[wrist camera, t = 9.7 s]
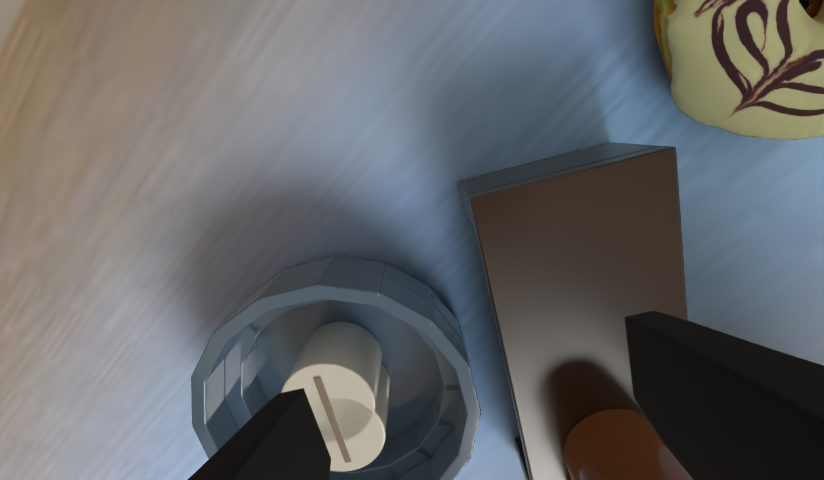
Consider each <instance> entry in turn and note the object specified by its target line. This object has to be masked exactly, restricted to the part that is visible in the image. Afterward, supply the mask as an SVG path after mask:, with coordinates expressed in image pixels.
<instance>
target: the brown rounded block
mask: <svg viewBox="0 0 824 480" xmlns="http://www.w3.org/2000/svg"><path fill="white" fill-rule="evenodd" d="M563 458H564V462H565V465H566V467H567V469H568V471H569V474H570V475H569V480H693V479H692V477H691V476H690V475H689V474H688V473H687V471H686V470H685V469H684V468H683V466H682V465H681V464H680V463H679V461H678V460H677V459H676V458H675V456H674V455H673V454H672V453H671V451H670V450H669V449H668V448H667V446H666V445H665V444H664V443H663V441H662V440H661V438H660V437H659V435H658V434H657V432H656V431H655V429H654V428H653V426H652V425H651V423H650V422H649V420H648V419H647V417H645V416H644V415H642V414H640V413H638V412H635V411H632V410H628V409H607V410H602V411H599V412H596V413H593V414H591V415H589V416H587V417H586V418H584V419H583V420H581V421H580V422H579V423H577V424H576V425H575V426H574V427H573V429H572V430H571V431H570V433H569V434H568V436H567V438H566V440H565V443H564V447H563Z"/></svg>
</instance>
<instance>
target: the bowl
mask: <svg viewBox="0 0 824 480" xmlns="http://www.w3.org/2000/svg"><path fill="white" fill-rule="evenodd" d="M332 322H350V323H354V324H357V325H359V326H361V327H363V328H365V329H366V330H367V331H369V332H370V333H371V334H372V335H373V336H374V337H375V339H376V340H377V342H378V344H379V346H380V348H381V352H382V364H383V365H384V367H385V368H386V370H387V372H388V374H389V377H390V395H389V406H388V417H387V427H386V438H385V443H384V446H383V449H382V450H381V452H380V454H379V455H378V456H377V457H376V459H374V460H373V461H372V462H371V463H369V464H368V465H366V466H364V467H362V468H360V469H357V470H353V471H345V472H339V471H331V470H330V475H329V480H454V479H455V477H456V476H457V475H458V473H459V472H460V471H461V470H462V468H463V467H464V466H465V465H466V463H467V462H468V461H469V460H470V458H471V455H472V450H473V446H474V442H475V437H476V433H477V429H478V424H479V420H480V415H481V410H480V405H479V401H478V397H477V393H476V388H475V384H474V380H473V376H472V371H471V367H470V363H469V359H468V355H467V351H466V347H465V343H464V339H463V335H462V331H461V327H460V324H459V322H458V321H457V320H456V319H455V317H454V316H453V315H452V313H451V312H450V311H449V310H448V308H447V307H446V306H445V305H444V303H443V302H442V301H441V300H440V298H439V297H438V296H437V295H436V293H435V292H434V291H433V290H432V288H430V286H428V285H426V284H424V283H422V282H420V281H419V280H417V279H415V278H413V277H411V276H410V275H408V274H406V273H404V272H402V271H401V270H399V269H397V268H395V267H393V266H392V265H390V264H388V263H383V262H376V261H368V260H361V259H353V258H346V257H339V256H336V257H335V256H332V257H328V258H324V259H320V260H316V261H312V262H308V263H304V264H299V265H295V266H291V267H287V268H286V269H284V270H283V271H281V272H280V273H279V274H277V275H276V276H275V277H273V278H272V279H271V280H269V281H268V282H267V283H266V284H264V285H263V286H262V287H260V288H259V289H258V290H256V291H255V292H254V293H252V294H251V295H250V296H249V297H248V298H247V299H246V300H245V301H244V302H243V303H242V304H241V305H240V306H239V307H238V308H237V309H236V310H235V311H234V312H233V313H232V314H231V315H230V316H229V317H228V318H227V319H226V320H225V321H224V322H223V323H222V324H221V325H220V326H219V327H218V328H217V329H216V330H215V331H214V332H213V334H212V336H211V338H210V340H209V342H208V344H207V346H206V348H205V350H204V352H203V354H202V356H201V358H200V360H199V362H198V364H197V366H196V368H195V370H194V372H193V374H192V378H191V389H192V425H193V428H194V430H195V432H196V434H197V436H198V438H199V440H200V442H201V444H202V446H203V448H204V450H205V452H206V454H207V456H208V458H209V459H210V458H211V457H212V456H213V455H214V454H215V453H216V452H217V451H218V450H219V449H220V448H221V447H222V446H223V445H224V444H225V443H226V442H227V441H228V440H229V439H230V438H231V437H232V436H233V435H234V434H235V433H236V432H237V431H238V430H240V429H241V428H242V427H243V426H244V425H245V424H246V423H247V422H248V421H249V420H250V419H251V418H252V417H253V416H254V415H255V414H256V413H257V412H258V411H259V410H260V409H261V408H262V407H263V406H264V405H266V404H267V403H268V402H269V401H270V400H271V399H272V398H274V397H275V396H276V395H277V394H279V393H281V391H282V388H283V386H284V384H285V382H286V380H287V378H288V376H289V374H290V372H291V370H292V368H293V366H294V364H295V362H296V360H297V358H298V356H299V354H300V352H301V350H302V348H303V346H304V344H305V342H306V341H307V339H308V337H309V336H310V335H311V334H312V332H314V331H315V330H316V329H317V328H319V327H321V326H323V325H325V324H328V323H332Z"/></svg>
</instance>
